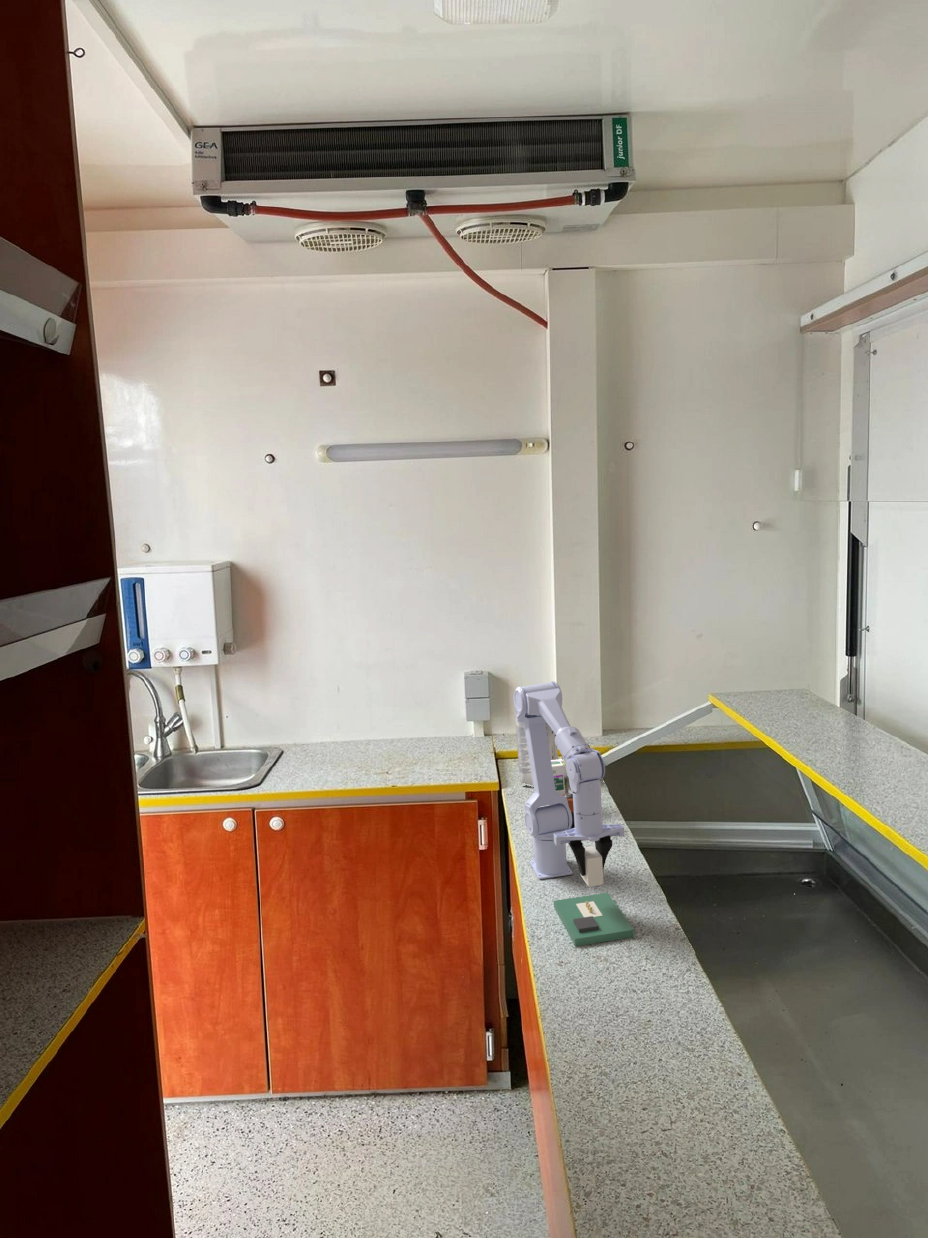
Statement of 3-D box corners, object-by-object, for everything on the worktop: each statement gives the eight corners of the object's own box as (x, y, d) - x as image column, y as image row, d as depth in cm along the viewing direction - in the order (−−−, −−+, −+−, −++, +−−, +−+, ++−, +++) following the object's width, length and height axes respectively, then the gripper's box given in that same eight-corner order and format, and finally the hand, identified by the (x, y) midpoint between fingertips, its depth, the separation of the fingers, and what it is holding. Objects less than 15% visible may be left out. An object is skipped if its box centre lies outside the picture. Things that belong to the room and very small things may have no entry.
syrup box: (549, 819, 233) (546, 767, 231) (544, 811, 239) (540, 760, 237) (570, 816, 234) (567, 764, 232) (564, 808, 240) (561, 757, 237)
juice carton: (548, 792, 253) (542, 701, 248) (516, 787, 258) (510, 698, 254) (562, 781, 260) (557, 693, 255) (531, 777, 266) (525, 690, 261)
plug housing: (578, 872, 186) (576, 845, 185) (592, 869, 186) (591, 843, 185) (588, 887, 179) (586, 859, 178) (603, 884, 180) (602, 857, 179)
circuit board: (553, 907, 187) (553, 895, 186) (608, 899, 188) (607, 887, 188) (575, 946, 171) (574, 933, 171) (634, 936, 173) (633, 924, 172)
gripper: (558, 822, 175) (562, 886, 177) (628, 812, 177) (631, 875, 179) (549, 809, 181) (553, 871, 184) (616, 800, 184) (619, 861, 186)
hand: (591, 872), depth 182 cm, fingers closed on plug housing, 3 cm apart
